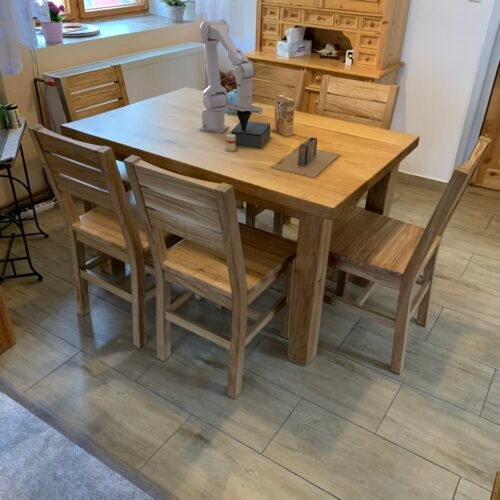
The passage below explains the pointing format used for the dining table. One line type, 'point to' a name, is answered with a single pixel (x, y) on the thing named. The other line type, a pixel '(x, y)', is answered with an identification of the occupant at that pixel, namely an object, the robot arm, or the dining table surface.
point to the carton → (254, 136)
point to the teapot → (232, 100)
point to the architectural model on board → (307, 159)
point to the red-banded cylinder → (231, 142)
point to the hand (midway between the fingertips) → (244, 129)
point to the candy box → (284, 115)
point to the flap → (239, 129)
